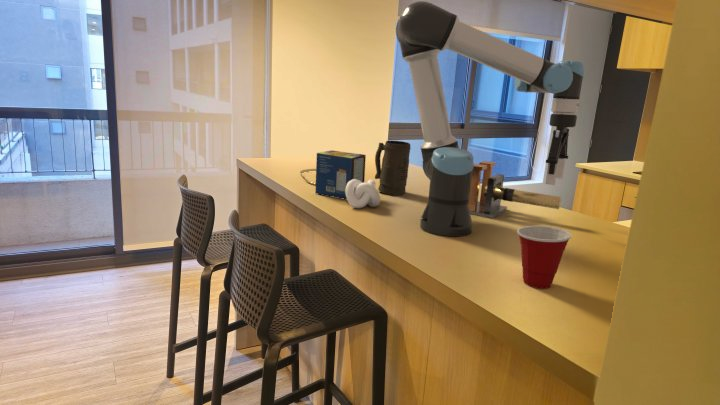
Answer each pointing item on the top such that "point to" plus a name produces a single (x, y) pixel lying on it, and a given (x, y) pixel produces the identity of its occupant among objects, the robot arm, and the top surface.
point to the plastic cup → (541, 253)
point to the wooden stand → (489, 203)
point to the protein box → (338, 172)
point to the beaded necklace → (307, 171)
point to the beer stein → (393, 167)
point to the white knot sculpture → (362, 193)
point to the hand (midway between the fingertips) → (554, 181)
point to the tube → (526, 197)
